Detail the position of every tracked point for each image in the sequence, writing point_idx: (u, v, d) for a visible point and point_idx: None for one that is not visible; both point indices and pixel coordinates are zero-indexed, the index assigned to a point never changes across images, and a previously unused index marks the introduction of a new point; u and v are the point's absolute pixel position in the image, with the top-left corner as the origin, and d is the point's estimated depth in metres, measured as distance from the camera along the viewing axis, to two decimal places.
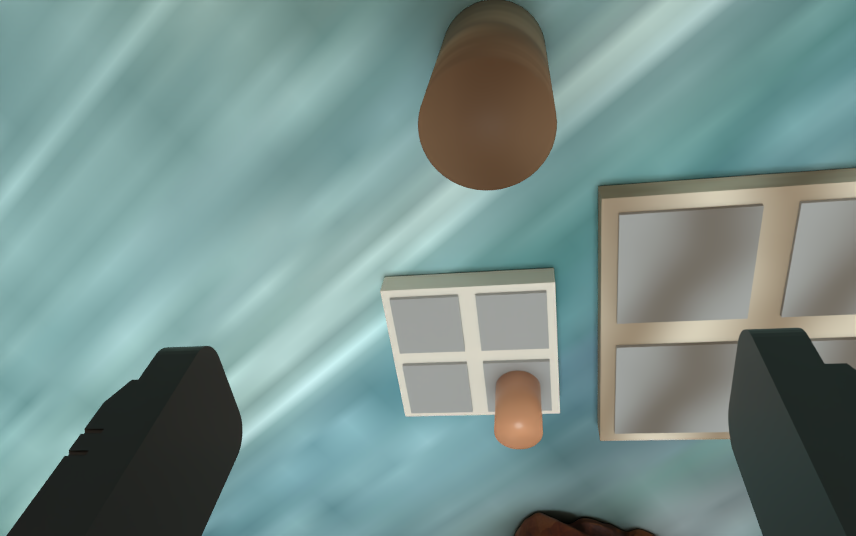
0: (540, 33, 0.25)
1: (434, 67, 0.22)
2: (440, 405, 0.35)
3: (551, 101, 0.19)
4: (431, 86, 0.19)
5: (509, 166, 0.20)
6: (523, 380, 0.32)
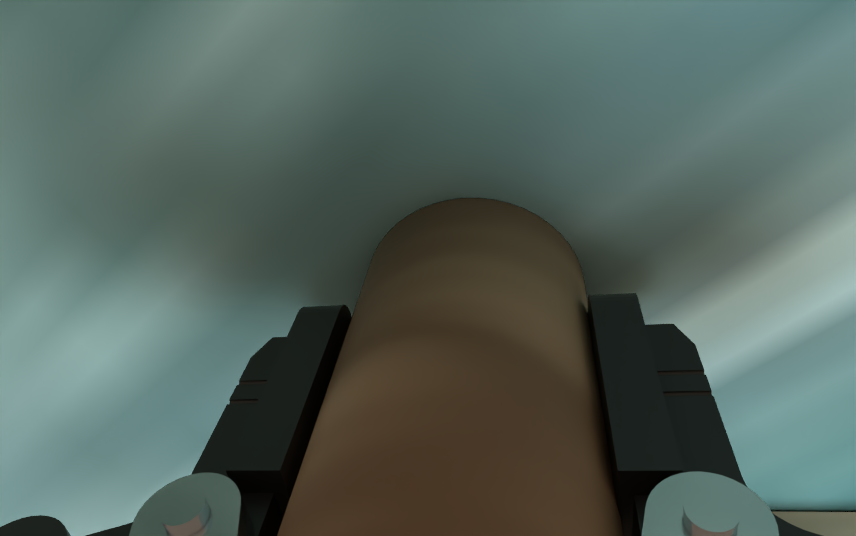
0: (578, 287, 0.11)
1: (301, 466, 0.08)
2: None
3: None
4: None
5: None
6: None
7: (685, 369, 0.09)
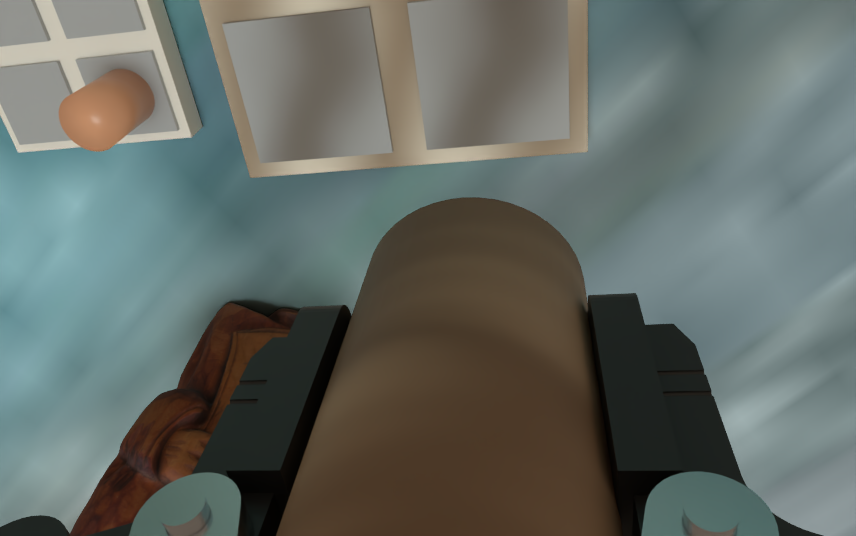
0: (578, 286, 0.11)
1: (300, 466, 0.08)
2: (48, 130, 0.28)
3: None
4: None
5: None
6: (117, 75, 0.26)
7: (685, 369, 0.09)
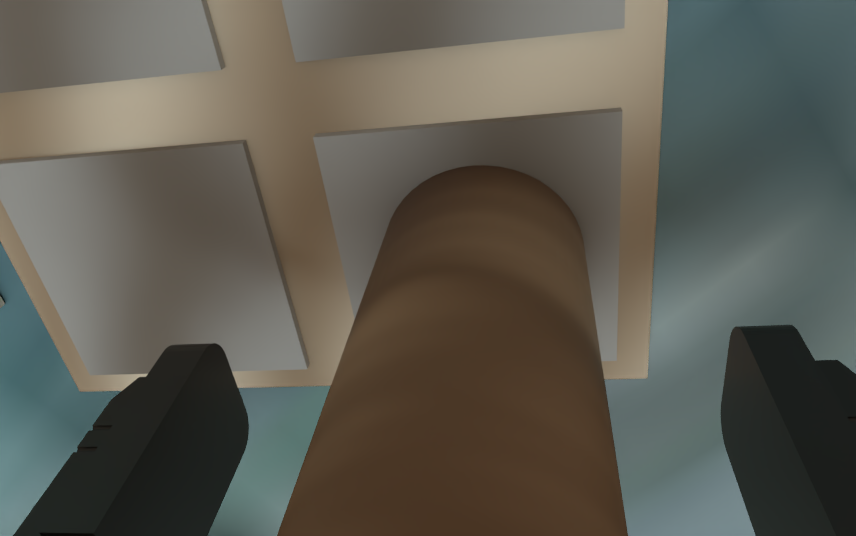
0: (577, 243, 0.12)
1: (331, 386, 0.09)
2: None
3: None
4: None
5: None
6: None
7: None
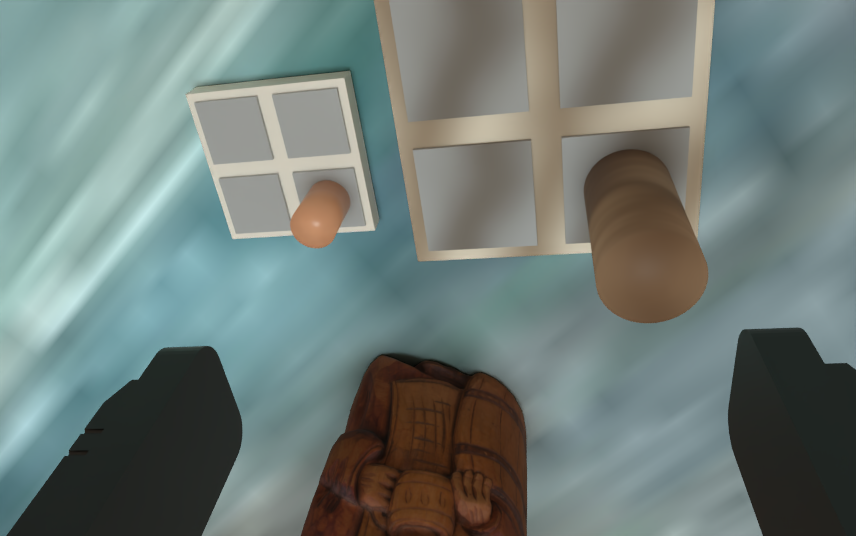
0: (671, 179, 0.30)
1: (597, 220, 0.27)
2: (261, 224, 0.36)
3: (705, 262, 0.24)
4: (610, 249, 0.25)
5: (666, 306, 0.26)
6: (327, 186, 0.33)
7: None
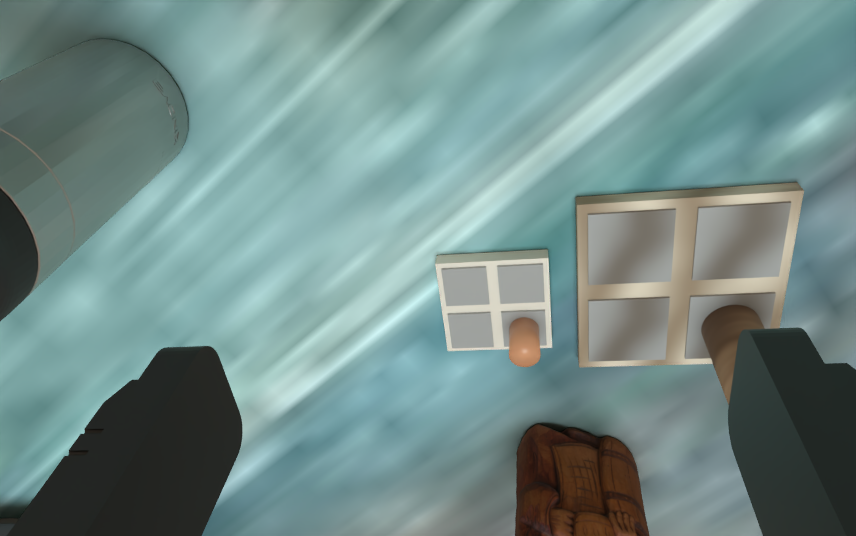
0: None
1: (725, 362, 0.44)
2: (472, 342, 0.52)
3: None
4: None
5: None
6: (527, 323, 0.49)
7: None
